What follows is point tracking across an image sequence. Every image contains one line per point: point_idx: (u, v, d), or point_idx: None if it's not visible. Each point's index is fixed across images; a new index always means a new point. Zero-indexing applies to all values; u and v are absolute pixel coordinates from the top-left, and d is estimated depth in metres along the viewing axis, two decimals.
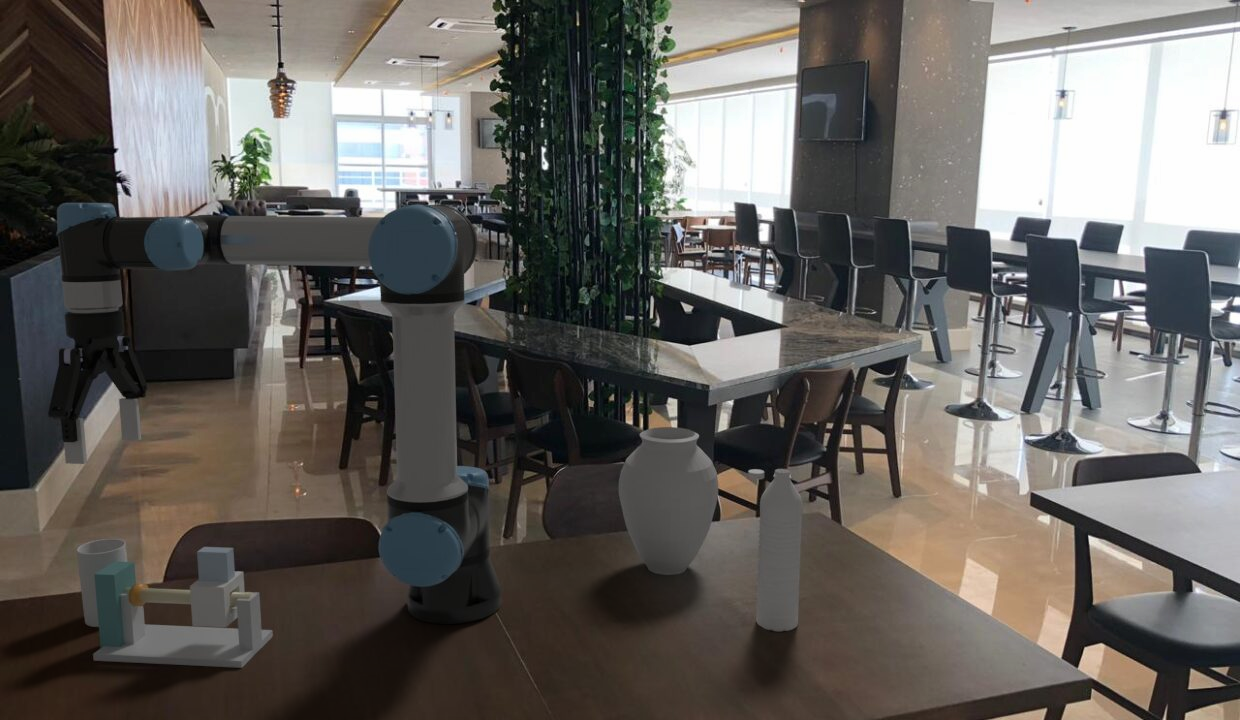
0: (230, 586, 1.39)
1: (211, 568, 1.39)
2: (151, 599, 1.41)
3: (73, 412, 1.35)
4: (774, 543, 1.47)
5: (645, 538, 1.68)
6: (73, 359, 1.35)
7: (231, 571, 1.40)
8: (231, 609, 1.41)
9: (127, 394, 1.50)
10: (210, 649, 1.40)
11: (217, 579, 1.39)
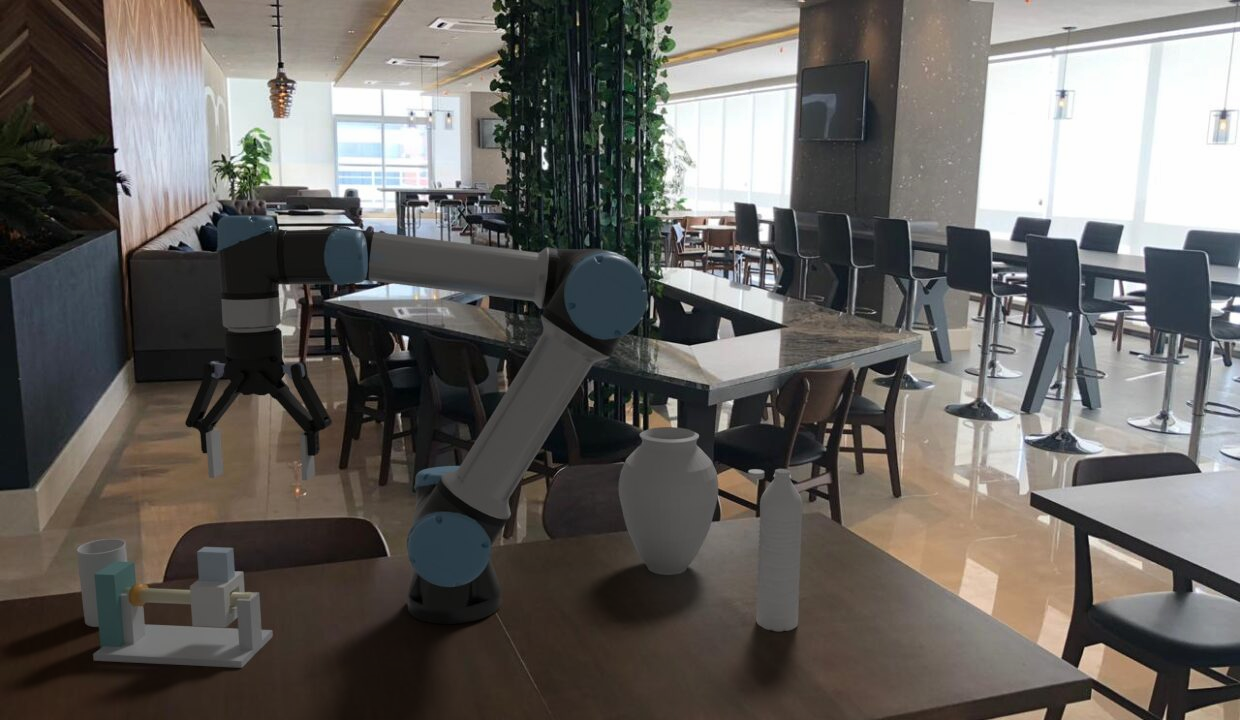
0: (230, 586, 1.39)
1: (211, 568, 1.39)
2: (151, 599, 1.41)
3: (199, 424, 1.36)
4: (774, 543, 1.47)
5: (645, 538, 1.68)
6: None
7: (231, 571, 1.40)
8: (231, 609, 1.41)
9: None
10: (210, 649, 1.40)
11: (217, 579, 1.39)
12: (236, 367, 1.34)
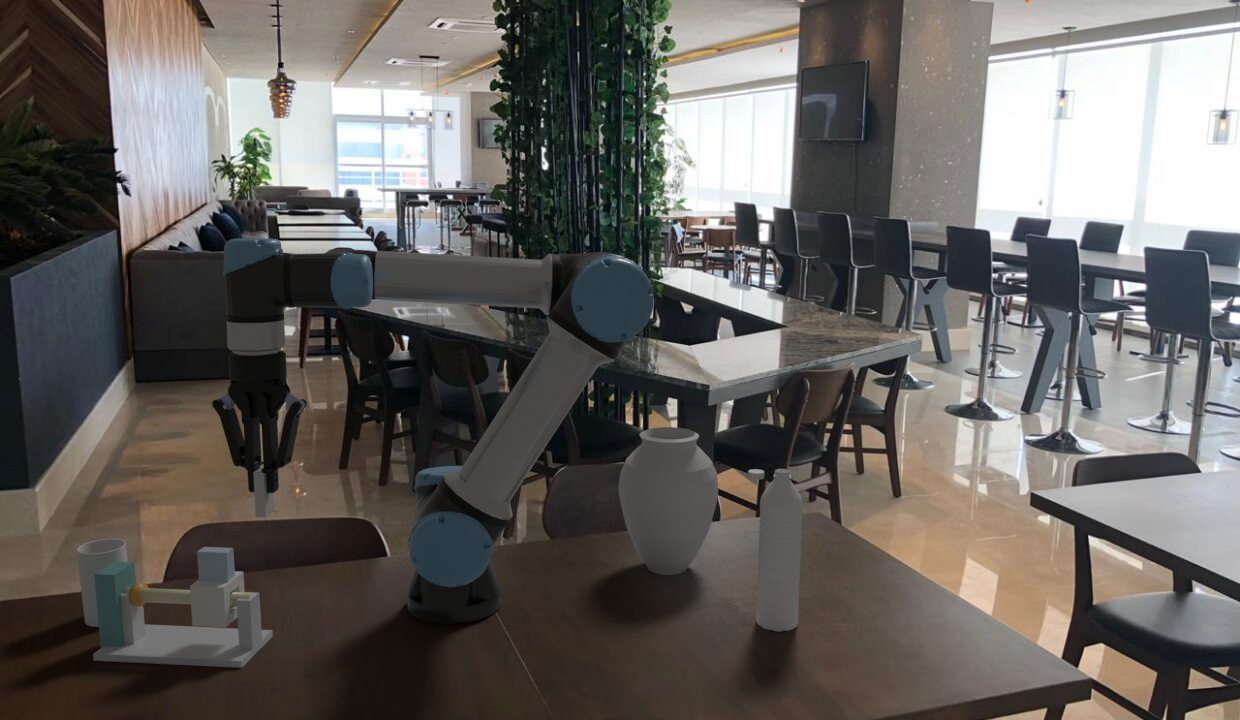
0: (230, 586, 1.39)
1: (211, 568, 1.39)
2: (151, 599, 1.41)
3: (246, 465, 1.36)
4: (774, 543, 1.47)
5: (645, 538, 1.68)
6: None
7: (231, 571, 1.40)
8: (231, 609, 1.41)
9: None
10: (210, 649, 1.40)
11: (217, 579, 1.39)
12: (236, 385, 1.34)
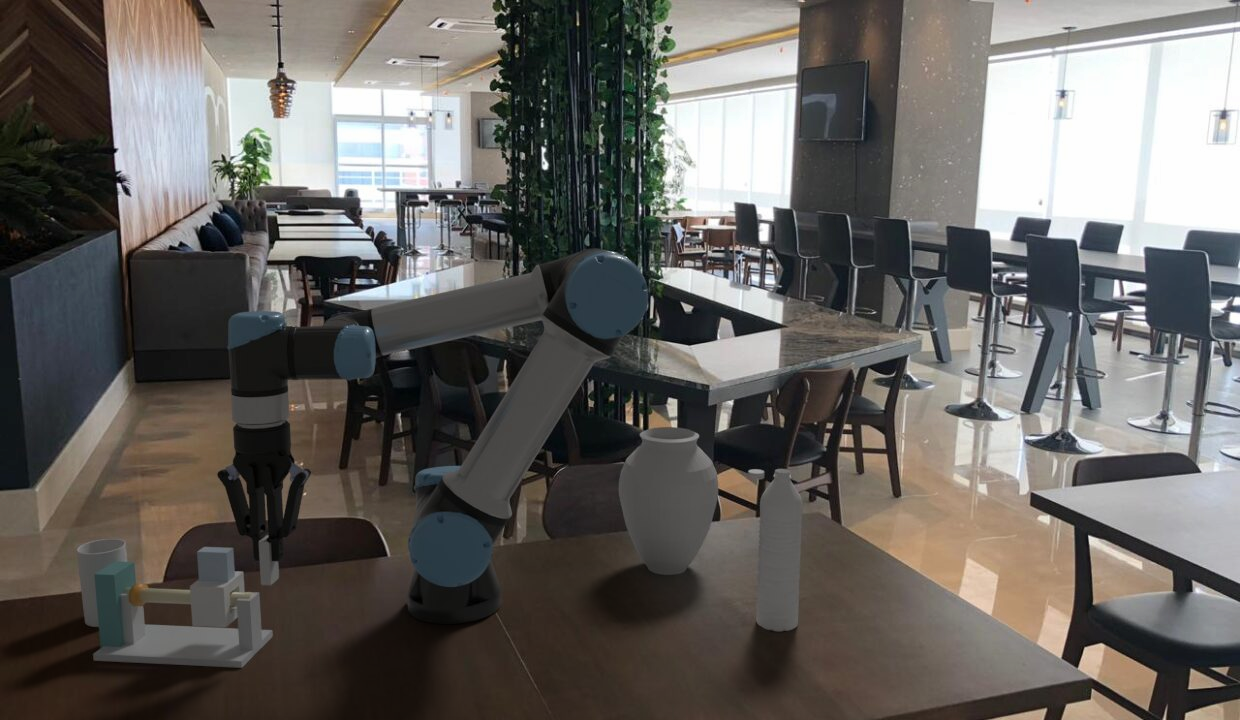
0: (230, 586, 1.39)
1: (211, 568, 1.39)
2: (151, 599, 1.41)
3: (251, 534, 1.37)
4: (774, 543, 1.47)
5: (645, 538, 1.68)
6: None
7: (231, 571, 1.40)
8: (231, 609, 1.41)
9: None
10: (210, 649, 1.40)
11: (217, 579, 1.39)
12: (241, 457, 1.36)
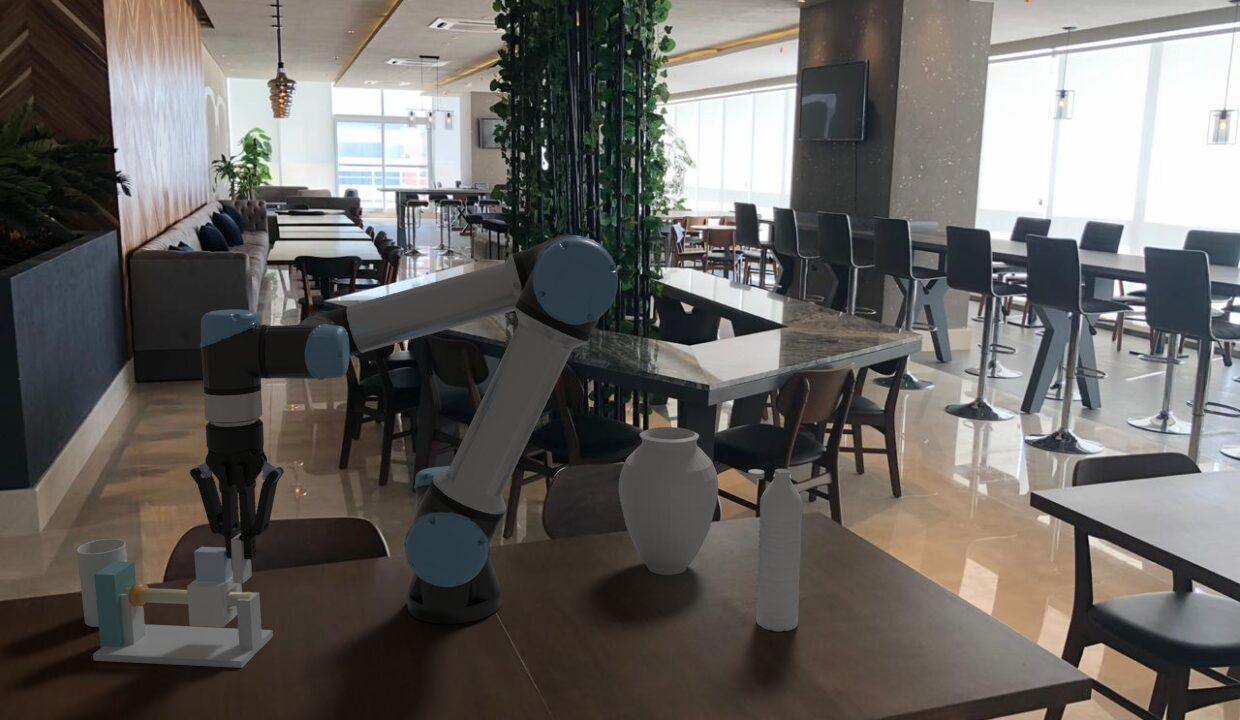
0: (227, 586, 1.39)
1: (209, 568, 1.39)
2: (151, 599, 1.41)
3: (223, 532, 1.38)
4: (774, 543, 1.47)
5: (645, 538, 1.68)
6: None
7: (228, 571, 1.40)
8: (228, 609, 1.41)
9: None
10: (210, 649, 1.40)
11: (214, 579, 1.39)
12: (214, 455, 1.36)
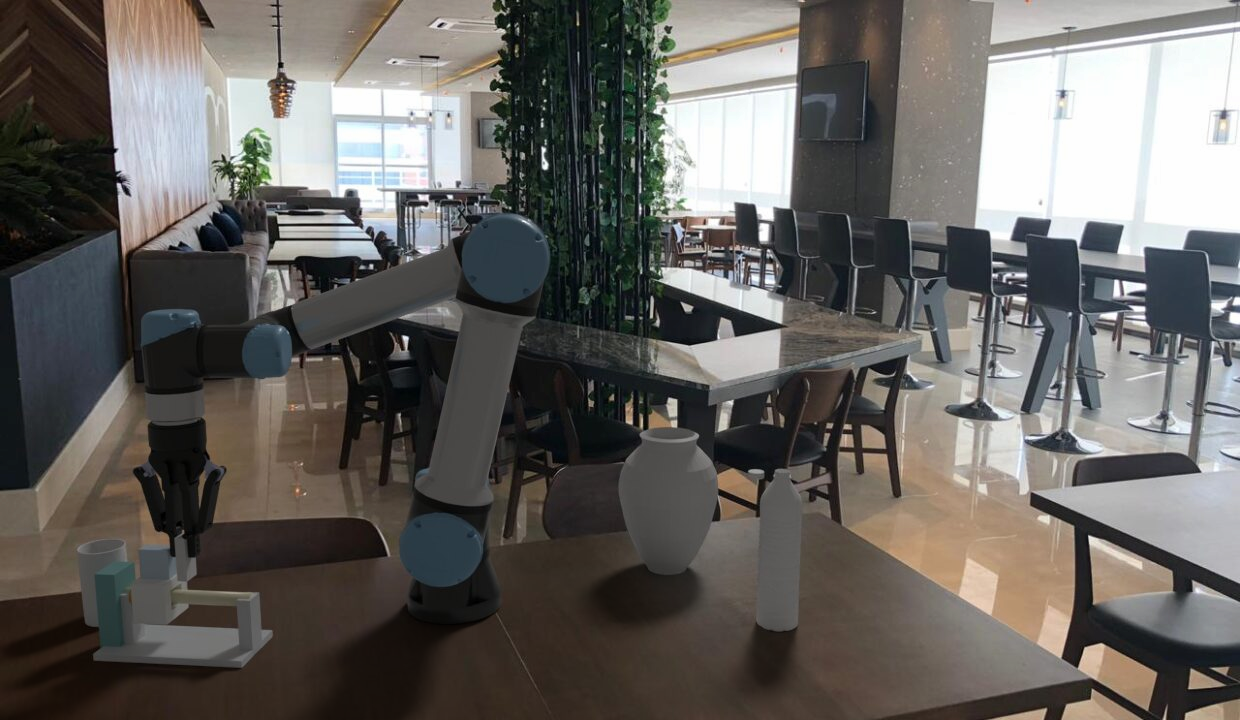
0: (171, 584, 1.40)
1: (152, 566, 1.40)
2: None
3: (167, 531, 1.38)
4: (774, 543, 1.47)
5: (645, 538, 1.68)
6: None
7: (172, 569, 1.41)
8: (173, 606, 1.41)
9: None
10: (210, 649, 1.40)
11: (158, 577, 1.40)
12: (156, 454, 1.37)
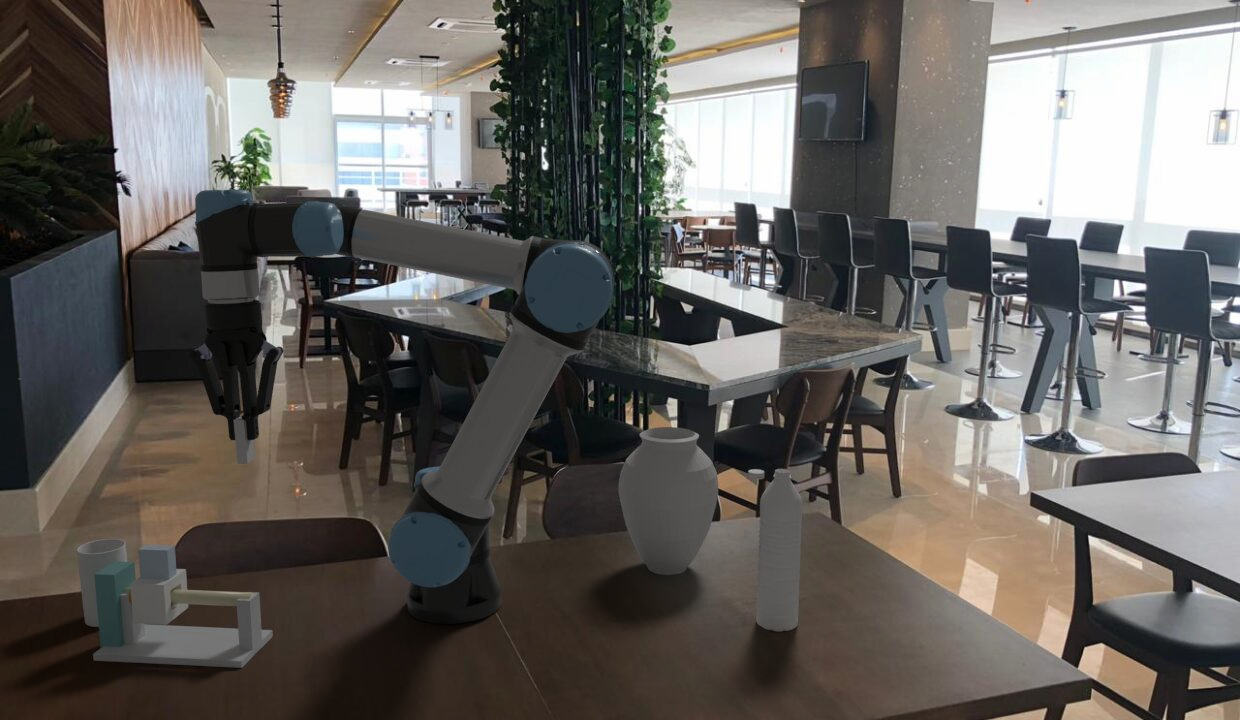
0: (171, 584, 1.40)
1: (152, 566, 1.40)
2: None
3: (226, 413, 1.39)
4: (774, 543, 1.47)
5: (645, 538, 1.68)
6: None
7: (172, 569, 1.41)
8: (173, 606, 1.41)
9: None
10: (210, 649, 1.40)
11: (158, 577, 1.40)
12: (213, 335, 1.37)
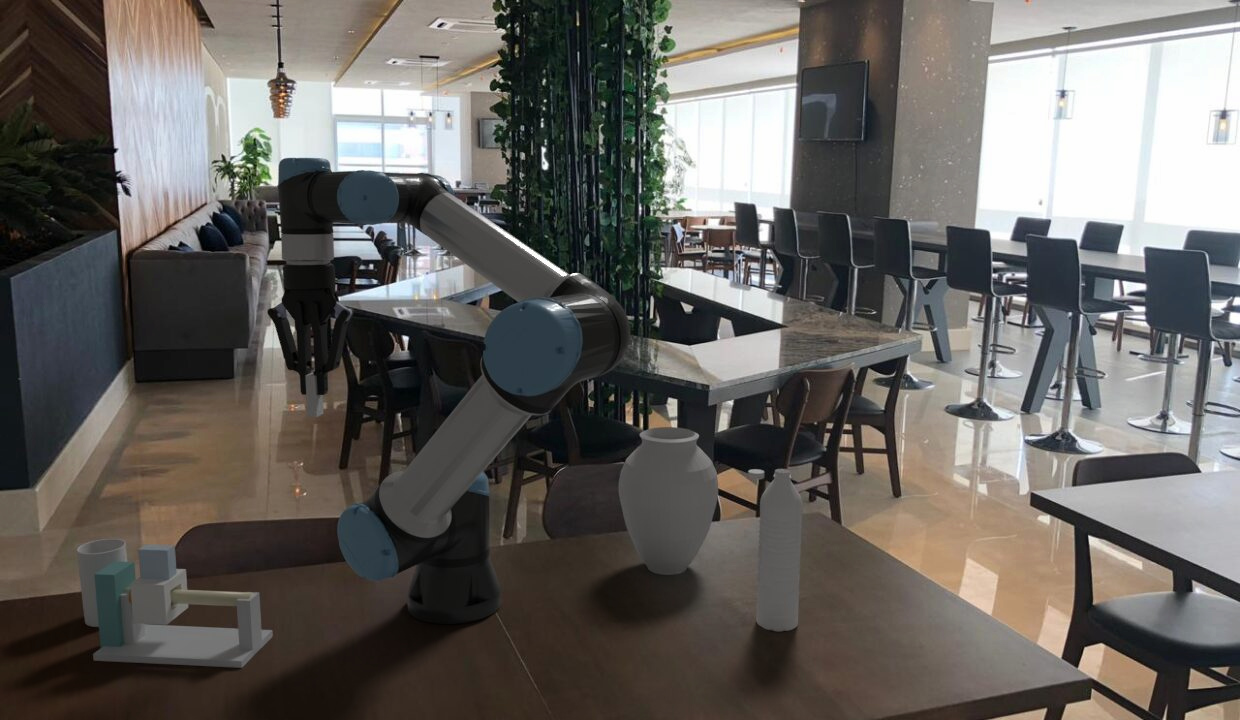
0: (171, 584, 1.40)
1: (152, 566, 1.40)
2: None
3: (298, 369, 1.48)
4: (774, 543, 1.47)
5: (645, 538, 1.68)
6: None
7: (172, 569, 1.41)
8: (173, 606, 1.41)
9: None
10: (210, 649, 1.40)
11: (158, 577, 1.40)
12: (290, 295, 1.46)
